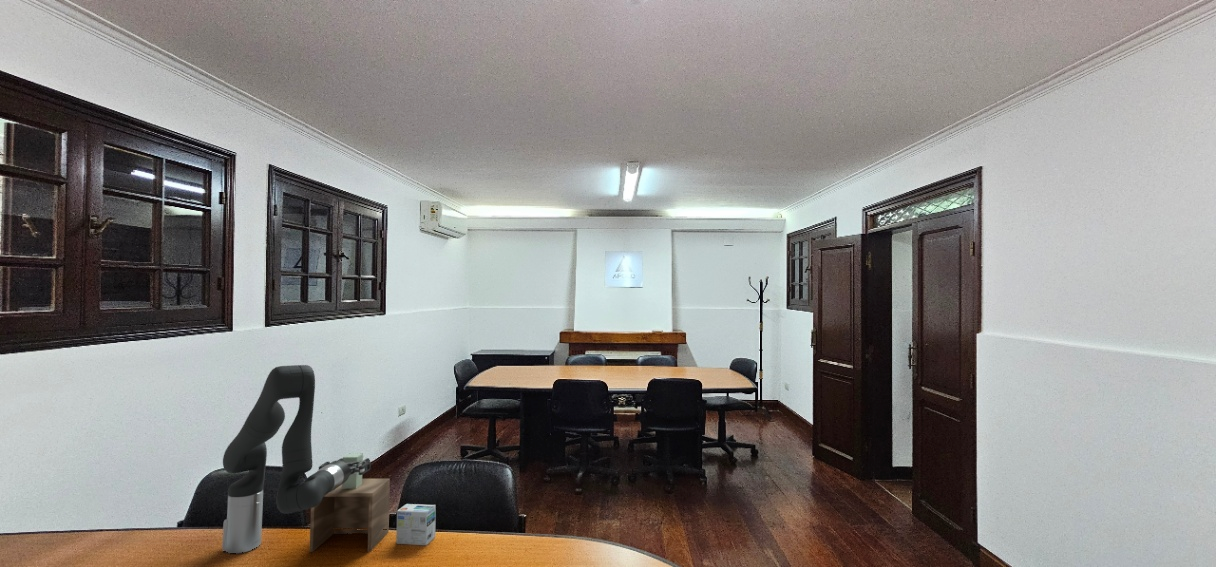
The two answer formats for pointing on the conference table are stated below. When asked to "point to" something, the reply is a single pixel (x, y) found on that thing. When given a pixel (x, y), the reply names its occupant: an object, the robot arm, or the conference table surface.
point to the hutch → (352, 513)
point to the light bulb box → (416, 524)
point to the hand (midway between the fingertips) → (355, 461)
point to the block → (353, 479)
